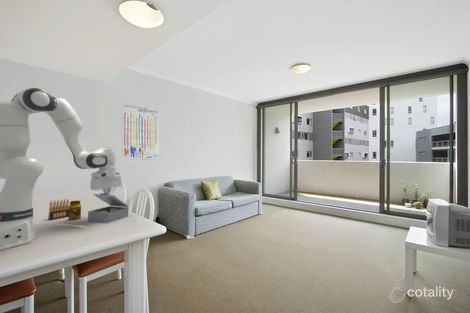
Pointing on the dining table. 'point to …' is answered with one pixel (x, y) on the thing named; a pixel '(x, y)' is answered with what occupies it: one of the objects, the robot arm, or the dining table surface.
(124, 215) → the housing
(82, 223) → the dining table surface
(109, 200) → the lid
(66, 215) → the ammunition clip
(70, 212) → the condiment
